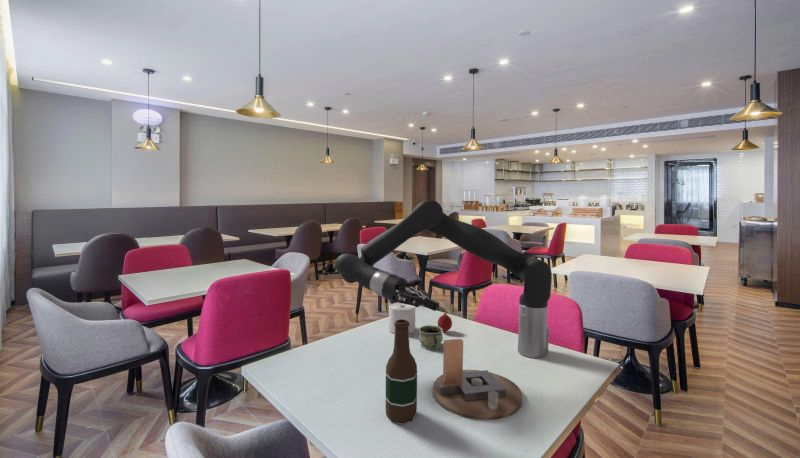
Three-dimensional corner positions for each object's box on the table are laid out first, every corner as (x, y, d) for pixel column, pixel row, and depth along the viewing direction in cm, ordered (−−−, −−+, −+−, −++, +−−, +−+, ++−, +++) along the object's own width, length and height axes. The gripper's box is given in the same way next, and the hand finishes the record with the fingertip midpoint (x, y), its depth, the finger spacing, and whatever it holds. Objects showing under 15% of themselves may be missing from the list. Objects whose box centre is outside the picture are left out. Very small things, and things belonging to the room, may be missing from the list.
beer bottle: (384, 407, 99) (385, 316, 96) (414, 406, 99) (415, 315, 97) (386, 425, 91) (386, 326, 89) (418, 423, 91) (419, 326, 89)
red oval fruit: (451, 335, 150) (451, 315, 150) (436, 334, 152) (437, 314, 151) (452, 330, 156) (452, 311, 155) (438, 329, 157) (438, 310, 157)
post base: (490, 369, 121) (490, 352, 120) (541, 409, 98) (542, 389, 97) (419, 381, 113) (419, 363, 112) (457, 427, 90) (458, 405, 90)
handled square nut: (487, 376, 112) (488, 330, 111) (505, 396, 101) (507, 345, 100) (432, 382, 108) (432, 334, 107) (445, 403, 97) (446, 349, 96)
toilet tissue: (410, 336, 149) (411, 311, 148) (382, 332, 153) (382, 308, 152) (418, 327, 159) (418, 303, 158) (391, 324, 163) (391, 301, 162)
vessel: (449, 350, 136) (449, 332, 136) (427, 353, 133) (427, 336, 132) (433, 338, 147) (433, 322, 147) (412, 341, 144) (412, 325, 143)
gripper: (398, 295, 121) (445, 316, 111) (372, 300, 110) (421, 324, 100) (403, 272, 120) (451, 292, 110) (378, 275, 109) (428, 296, 99)
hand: (437, 307), depth 105 cm, fingers closed
